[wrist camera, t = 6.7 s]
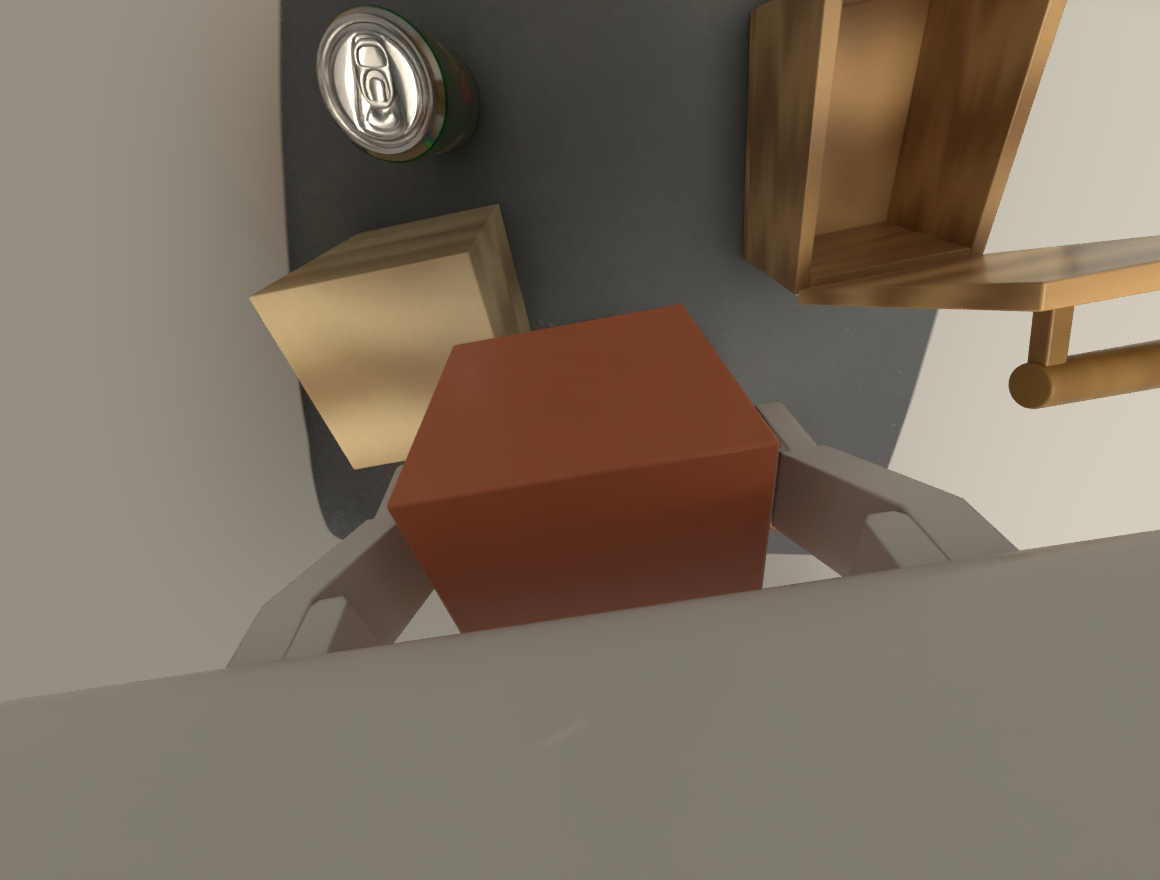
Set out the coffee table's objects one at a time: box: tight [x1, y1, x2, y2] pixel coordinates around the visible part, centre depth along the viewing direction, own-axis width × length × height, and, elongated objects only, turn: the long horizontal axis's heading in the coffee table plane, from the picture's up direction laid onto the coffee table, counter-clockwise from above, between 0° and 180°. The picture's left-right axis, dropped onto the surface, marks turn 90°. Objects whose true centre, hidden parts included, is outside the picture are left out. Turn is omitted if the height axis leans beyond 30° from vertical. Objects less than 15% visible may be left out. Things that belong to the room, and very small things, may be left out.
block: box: [387, 304, 779, 633], centre depth 9 cm, size 5×5×5 cm
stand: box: [249, 204, 531, 469], centre depth 28 cm, size 10×10×14 cm
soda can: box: [317, 5, 480, 163], centre depth 22 cm, size 5×5×12 cm
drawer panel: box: [799, 235, 1160, 409], centre depth 19 cm, size 14×11×5 cm
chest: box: [743, 0, 1067, 294], centre depth 26 cm, size 14×11×9 cm
